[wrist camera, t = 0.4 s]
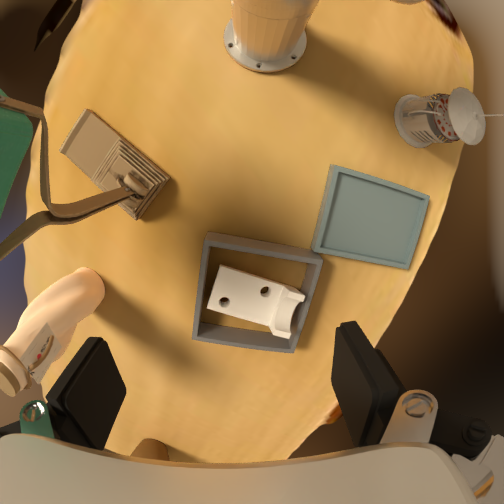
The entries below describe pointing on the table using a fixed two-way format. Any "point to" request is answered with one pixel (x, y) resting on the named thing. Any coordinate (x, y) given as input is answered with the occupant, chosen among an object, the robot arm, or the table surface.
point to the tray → (369, 219)
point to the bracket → (254, 299)
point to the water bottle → (48, 328)
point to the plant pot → (151, 450)
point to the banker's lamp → (85, 158)
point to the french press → (440, 118)
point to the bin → (252, 337)
